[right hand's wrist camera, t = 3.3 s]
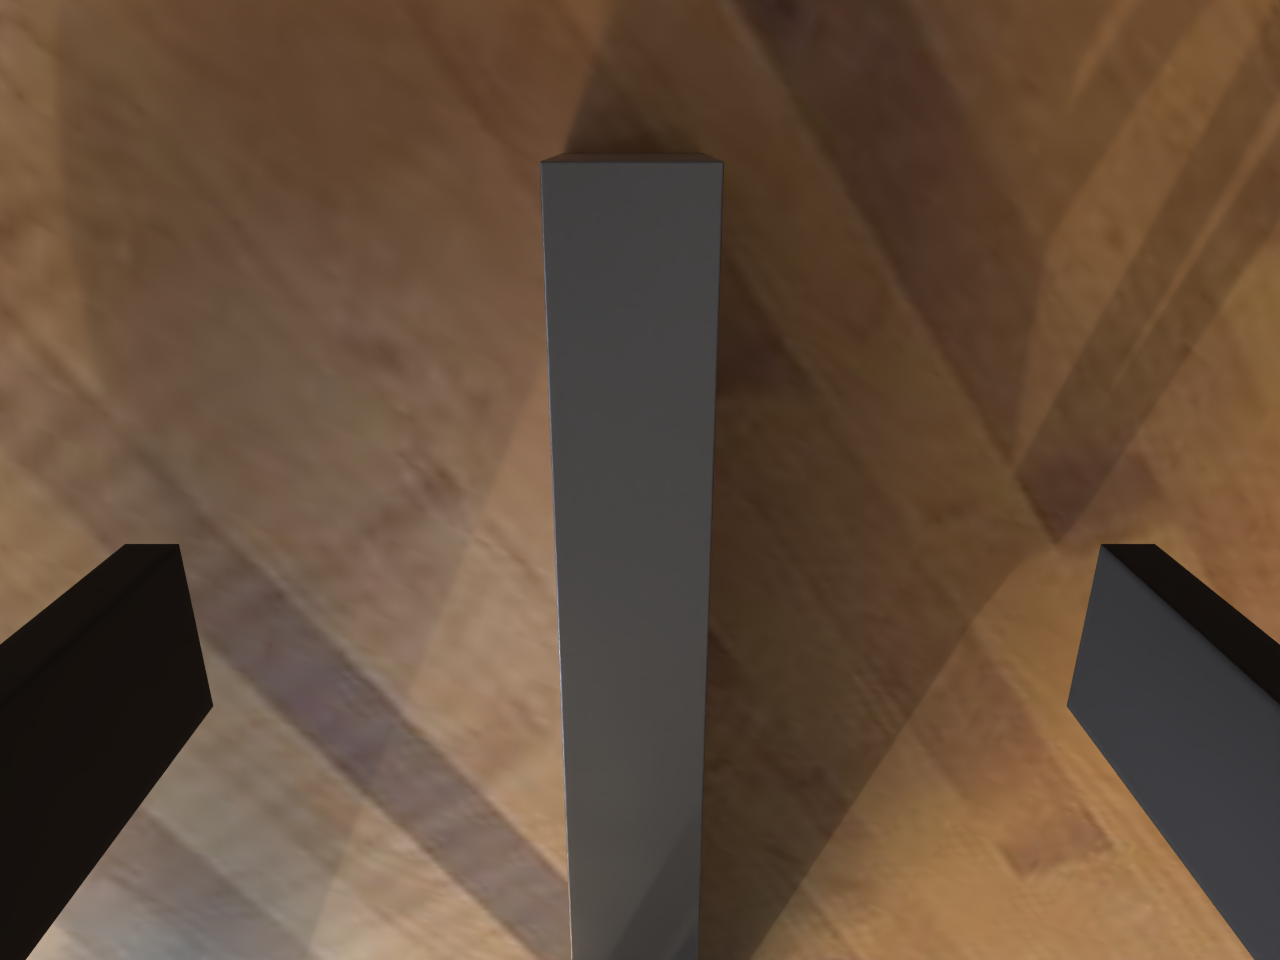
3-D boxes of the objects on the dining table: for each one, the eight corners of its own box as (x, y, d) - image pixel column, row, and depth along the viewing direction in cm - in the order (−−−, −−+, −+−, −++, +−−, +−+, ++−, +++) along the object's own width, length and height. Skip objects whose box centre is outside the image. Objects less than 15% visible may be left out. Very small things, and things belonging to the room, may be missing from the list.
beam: (561, 153, 34) (539, 161, 26) (703, 153, 34) (724, 160, 26) (589, 1067, 52) (581, 1230, 45) (681, 1066, 52) (688, 1230, 45)
